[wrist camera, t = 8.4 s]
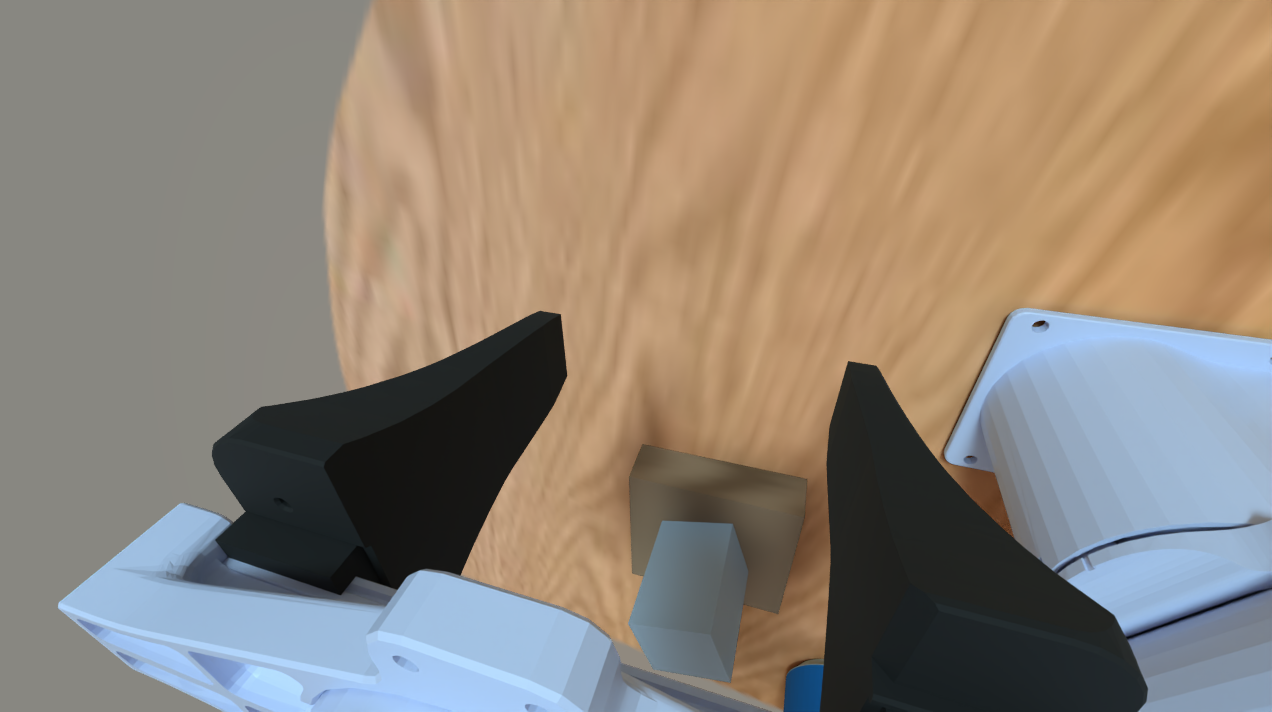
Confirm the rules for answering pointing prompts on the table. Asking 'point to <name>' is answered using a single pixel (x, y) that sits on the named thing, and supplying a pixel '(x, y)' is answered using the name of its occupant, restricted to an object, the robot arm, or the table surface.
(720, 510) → the taupe plinth
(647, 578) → the slate-blue block
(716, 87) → the table surface
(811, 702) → the beverage can
